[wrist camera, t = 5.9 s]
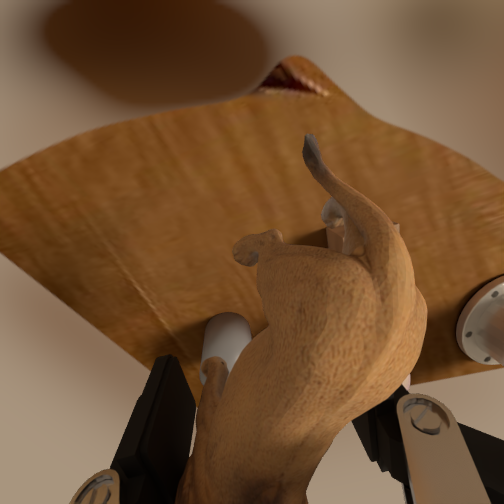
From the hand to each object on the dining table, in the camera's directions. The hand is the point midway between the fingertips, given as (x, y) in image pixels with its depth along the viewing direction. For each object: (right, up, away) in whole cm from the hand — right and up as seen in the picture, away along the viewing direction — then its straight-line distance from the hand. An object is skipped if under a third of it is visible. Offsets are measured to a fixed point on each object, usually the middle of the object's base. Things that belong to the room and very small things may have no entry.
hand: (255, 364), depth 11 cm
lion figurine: (+1, +2, +1) cm, 2 cm away
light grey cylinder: (-3, -4, +17) cm, 18 cm away
